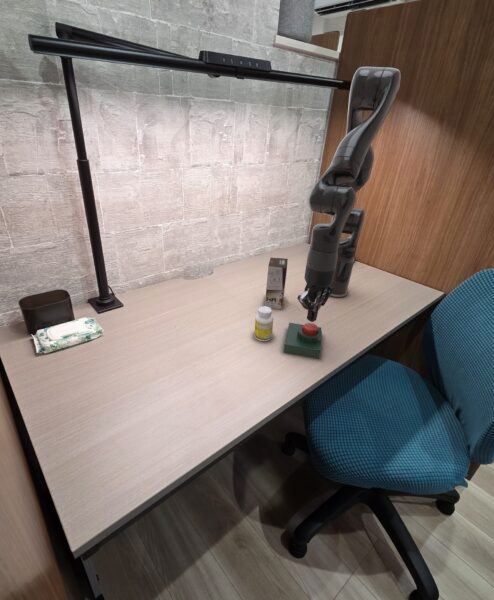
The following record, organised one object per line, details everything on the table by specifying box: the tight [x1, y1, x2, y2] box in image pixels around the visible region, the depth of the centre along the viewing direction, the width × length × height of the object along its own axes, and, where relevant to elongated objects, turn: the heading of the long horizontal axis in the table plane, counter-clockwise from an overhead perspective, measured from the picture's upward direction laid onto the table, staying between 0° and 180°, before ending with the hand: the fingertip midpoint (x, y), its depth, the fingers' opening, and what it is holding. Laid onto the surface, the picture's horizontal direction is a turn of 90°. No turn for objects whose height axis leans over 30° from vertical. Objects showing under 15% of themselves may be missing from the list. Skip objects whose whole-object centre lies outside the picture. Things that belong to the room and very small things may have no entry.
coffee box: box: [264, 257, 289, 310], centre depth 113 cm, size 9×6×16 cm
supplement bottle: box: [254, 305, 274, 342], centre depth 95 cm, size 5×5×10 cm
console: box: [283, 322, 323, 360], centre depth 94 cm, size 12×10×5 cm
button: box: [303, 322, 319, 335], centre depth 92 cm, size 4×4×2 cm
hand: (311, 320), depth 91 cm, fingers closed
